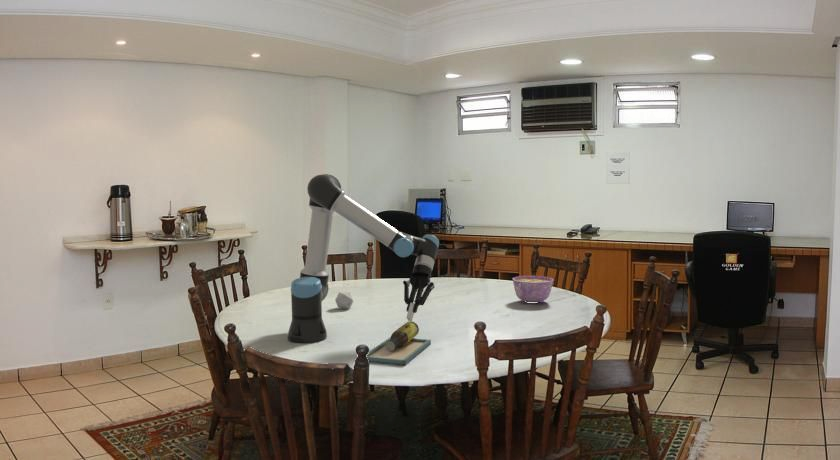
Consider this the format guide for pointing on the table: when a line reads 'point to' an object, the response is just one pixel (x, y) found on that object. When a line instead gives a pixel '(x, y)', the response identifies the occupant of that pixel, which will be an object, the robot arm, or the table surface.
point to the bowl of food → (532, 288)
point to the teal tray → (398, 352)
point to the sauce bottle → (402, 336)
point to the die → (344, 300)
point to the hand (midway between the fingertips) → (409, 319)
